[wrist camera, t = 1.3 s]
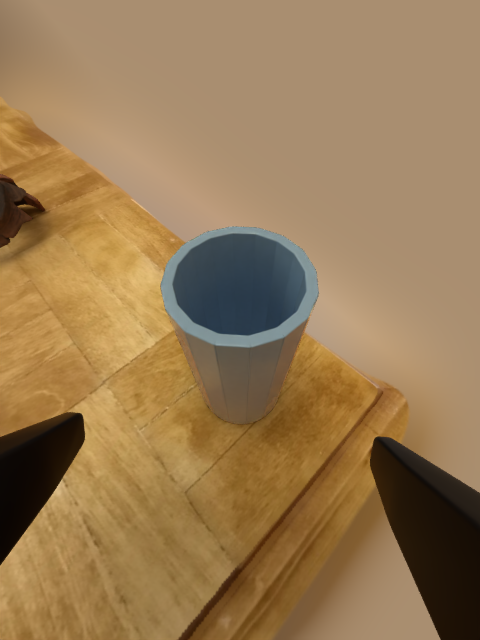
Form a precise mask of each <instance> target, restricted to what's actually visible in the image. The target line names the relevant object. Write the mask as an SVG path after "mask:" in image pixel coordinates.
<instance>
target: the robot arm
mask: <svg viewBox="0 0 480 640" xmlns="http://www.w3.org/2000/svg"><path fill="white" fill-rule="evenodd" d="M84 440H85V431H84V420H83V415H82V414H81V413H74V412H67V413H64V414H61V415H59V416H56V417H53V418H50V419H48V420H45V421H42V422H40V423H37V424H34V425H32V426H29V427H26V428H23V429H21V430H18V431H15V432H13V433H10V434H7V435H4V436H2V437H0V565H1V564H2V562H3V561H4V560H5V558H6V557H7V556H8V554H9V553H10V552H11V550H12V549H13V547H14V546H15V545H16V543H17V542H18V541H19V539H20V538H21V536H22V535H23V534H24V532H25V531H26V530H27V528H28V527H29V526H30V524H31V523H32V521H33V520H34V519H35V517H36V516H37V515H38V513H39V512H40V510H41V509H42V508H43V506H44V505H45V504H46V502H47V501H48V499H49V498H50V497H51V495H52V494H53V492H54V491H55V489H56V488H57V486H58V484H59V483H60V481H61V480H62V478H63V476H64V475H65V473H66V471H67V470H68V468H69V466H70V465H71V463H72V461H73V460H74V458H75V457H76V455H77V453H78V452H79V450H80V448H81V447H82V445H83V443H84ZM370 467H371V470H372V473H373V476H374V479H375V482H376V485H377V488H378V491H379V494H380V497H381V500H382V503H383V506H384V509H385V512H386V515H387V518H388V521H389V523H390V526H391V528H392V530H393V533H394V535H395V538H396V540H397V542H398V544H399V547H400V549H401V551H402V553H403V556H404V558H405V560H406V562H407V565H408V567H409V569H410V571H411V573H412V576H413V578H414V580H415V583H416V585H417V587H418V590H419V592H420V594H421V596H422V599H423V601H424V603H425V605H426V607H427V610H428V612H429V614H430V617H431V619H432V621H433V623H434V625H435V628H436V630H437V632H438V635H439V637H440V639H441V640H480V493H479V492H477V491H476V490H474V489H472V488H471V487H469V486H468V485H466V484H464V483H463V482H461V481H460V480H458V479H456V478H455V477H453V476H452V475H450V474H448V473H447V472H445V471H443V470H442V469H440V468H438V467H437V466H435V465H434V464H432V463H430V462H429V461H427V460H426V459H424V458H423V457H421V456H419V455H418V454H416V453H414V452H413V451H411V450H409V449H408V448H406V447H405V446H403V445H402V444H400V443H398V442H397V441H395V440H393V439H392V438H389V437H376V438H375V439H374V441H373V447H372V452H371V458H370Z"/></svg>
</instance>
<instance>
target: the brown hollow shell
mask: <svg viewBox="0 0 480 640" xmlns="http://www.w3.org/2000/svg"><path fill="white" fill-rule="evenodd" d="M24 204H26V205H31V206H34V207H36V208H38V209H40V210H41V211H44V210H45V209H44V208H43V206H42V205H41V203H40V202H39V201H38V200H37V199H36V198H35V197H33V196H31V195H30V194H28V193H26V191H25V190H24V189H22V188H19V187H18V186H17V185H16V184H15V183H14V181H13V179H11V178H9V177H7V176H5V175H2V174H0V248H1V247H2V246H4V245H7V244H8V243H10V239H9V238H14V237H15V236H16V234H17V233H18V231H19V229H20V227H21V226H22V224H23V223H25V222H27V221H30V220H32V219H33V218H32V217H30V216H29V215H28V214H26V213H25V212H24V211H23V210H21V209H20V208H18V207H17V206H19V205H24Z"/></svg>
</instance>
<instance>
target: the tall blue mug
mask: <svg viewBox="0 0 480 640" xmlns="http://www.w3.org/2000/svg"><path fill="white" fill-rule="evenodd" d="M161 292H162V297H163V301H164V306H165V310H166V312H167V314H168V317H169V319H170V322H171V324H172V326H173V329H174V331H175V333H176V336H177V338H178V340H179V343H180V345H181V347H182V350H183V352H184V354H185V357H186V359H187V361H188V364H189V366H190V368H191V371H192V373H193V376H194V378H195V380H196V383H197V385H198V387H199V390H200V392H201V394H202V397H203V399H204V401H205V403H206V404H207V406H208V407H209V409H210V410H211V411H212V412H213V413H214V414H215V415H216V416H217V417H219V418H221V419H222V420H224V421H227V422H230V423H234V424H249V423H252V422H255V421H258V420H260V419H262V418H263V417H265V416H266V415H267V414H268V413H269V412H270V411H271V410H272V409H273V407H274V406H275V405H276V402H277V400H278V398H279V395H280V393H281V391H282V388H283V385H284V383H285V380H286V378H287V375H288V373H289V370H290V367H291V365H292V362H293V360H294V357H295V355H296V352H297V349H298V347H299V344H300V342H301V339H302V337H303V334H304V331H305V329H306V326H307V324H308V321H309V319H310V316H311V313H312V311H313V308H314V306H315V303H316V301H317V298H318V294H319V291H318V281H317V272H316V269H315V268H314V266H313V264H312V263H311V261H310V260H309V258H308V257H307V255H306V253H305V252H304V251H303V249H301V248H300V247H299V246H297V245H296V244H294V243H293V242H291V241H290V240H289V239H287V238H286V237H284V236H282V235H279V234H276V233H273V232H270V231H267V230H264V229H261V228H256V227H227V228H222V229H217V230H213V231H208V232H206V233H203V234H202V235H200V236H198V237H196V238H194V239H192V240H190V241H189V242H187V243H185V244H184V245H182V247H181V248H180V249H179V250H178V251H177V252H176V253H175V254H174V256H173V257H172V258H171V259H170V260H169V261H168V263H167V265H166V268H165V272H164V275H163V278H162V281H161Z"/></svg>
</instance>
